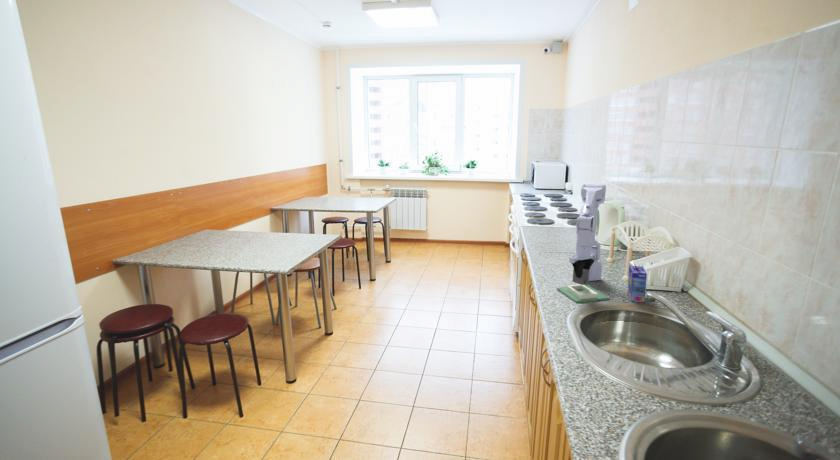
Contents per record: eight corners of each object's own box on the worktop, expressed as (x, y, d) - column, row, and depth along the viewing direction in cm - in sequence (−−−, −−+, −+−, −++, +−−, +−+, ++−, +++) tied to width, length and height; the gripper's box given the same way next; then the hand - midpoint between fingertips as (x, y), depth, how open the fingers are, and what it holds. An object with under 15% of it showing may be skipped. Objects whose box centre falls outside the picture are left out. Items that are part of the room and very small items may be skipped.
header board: (587, 286, 178) (588, 281, 178) (609, 299, 164) (610, 293, 163) (556, 289, 176) (557, 283, 175) (576, 302, 161) (576, 296, 161)
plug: (577, 280, 172) (578, 266, 170) (589, 284, 167) (590, 270, 166) (572, 281, 170) (573, 268, 169) (584, 285, 165) (585, 271, 164)
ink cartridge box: (626, 292, 171) (629, 259, 168) (640, 293, 169) (644, 260, 166) (629, 301, 162) (633, 267, 159) (645, 302, 160) (648, 268, 157)
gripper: (586, 240, 172) (584, 270, 175) (564, 245, 164) (562, 277, 168) (601, 243, 166) (598, 275, 169) (578, 249, 159) (576, 281, 162)
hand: (581, 276), depth 168 cm, fingers closed on plug, 3 cm apart
